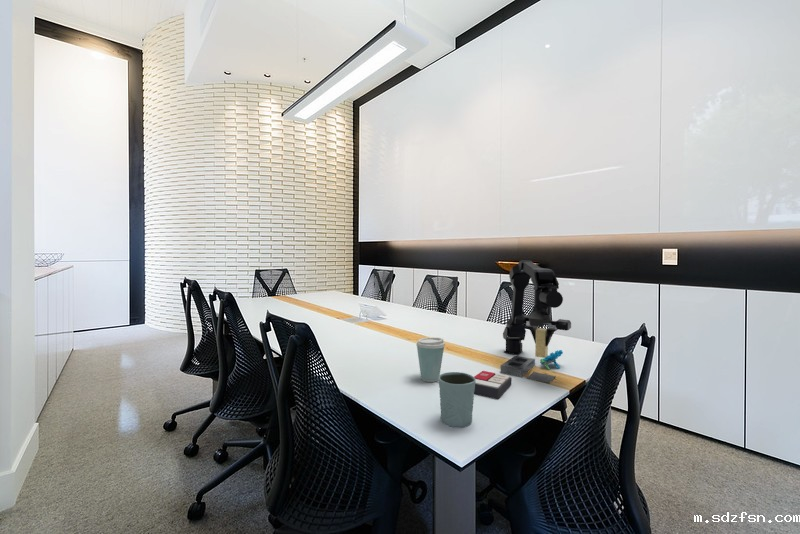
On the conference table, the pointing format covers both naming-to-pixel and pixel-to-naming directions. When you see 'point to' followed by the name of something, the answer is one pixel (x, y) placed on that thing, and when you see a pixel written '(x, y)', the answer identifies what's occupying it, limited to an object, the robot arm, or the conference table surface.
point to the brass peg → (541, 343)
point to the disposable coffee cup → (430, 357)
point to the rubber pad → (541, 377)
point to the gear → (551, 359)
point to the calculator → (491, 384)
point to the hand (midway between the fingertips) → (541, 345)
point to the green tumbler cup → (456, 398)
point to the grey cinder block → (517, 366)
